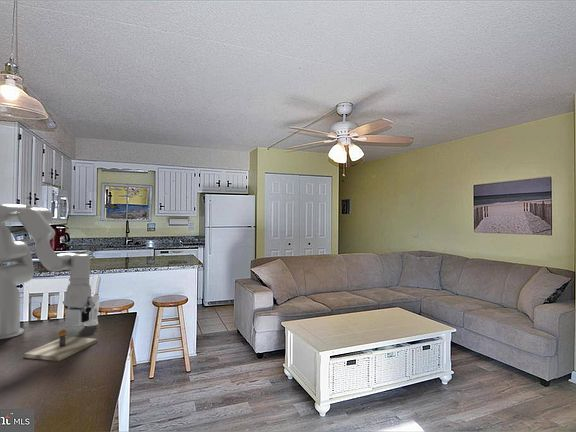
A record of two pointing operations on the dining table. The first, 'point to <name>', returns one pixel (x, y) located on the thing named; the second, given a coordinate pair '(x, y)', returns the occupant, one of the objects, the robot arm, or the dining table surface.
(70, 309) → the white open box
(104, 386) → the dining table surface
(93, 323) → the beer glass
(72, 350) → the board
